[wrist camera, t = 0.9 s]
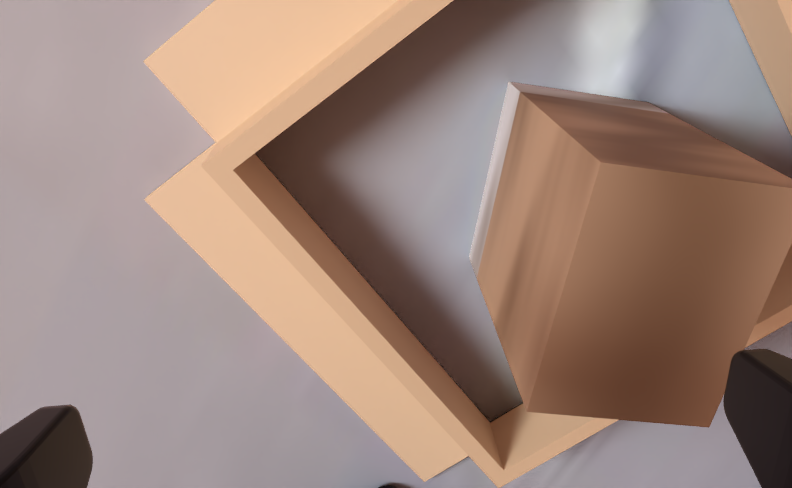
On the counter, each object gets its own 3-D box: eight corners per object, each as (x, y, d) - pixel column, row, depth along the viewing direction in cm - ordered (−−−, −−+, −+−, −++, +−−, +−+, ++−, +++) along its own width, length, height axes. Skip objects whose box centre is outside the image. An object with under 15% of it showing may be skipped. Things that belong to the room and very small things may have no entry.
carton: (937, 172, 22) (1005, 199, 19) (423, 476, 26) (430, 527, 24) (720, -427, 15) (786, -494, 13) (73, 121, 19) (35, 145, 17)
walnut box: (647, 102, 20) (815, 191, 13) (594, 272, 22) (709, 427, 15) (508, 81, 20) (601, 162, 12) (469, 257, 22) (526, 411, 15)
